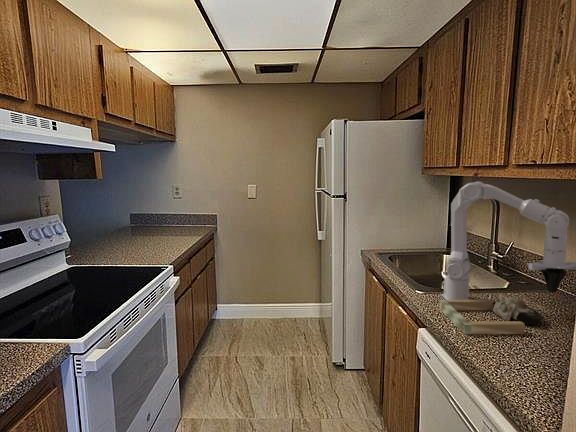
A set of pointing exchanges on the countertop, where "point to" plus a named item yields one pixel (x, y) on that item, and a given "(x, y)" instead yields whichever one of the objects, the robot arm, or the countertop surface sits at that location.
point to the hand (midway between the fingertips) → (551, 291)
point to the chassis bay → (478, 327)
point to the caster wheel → (516, 311)
